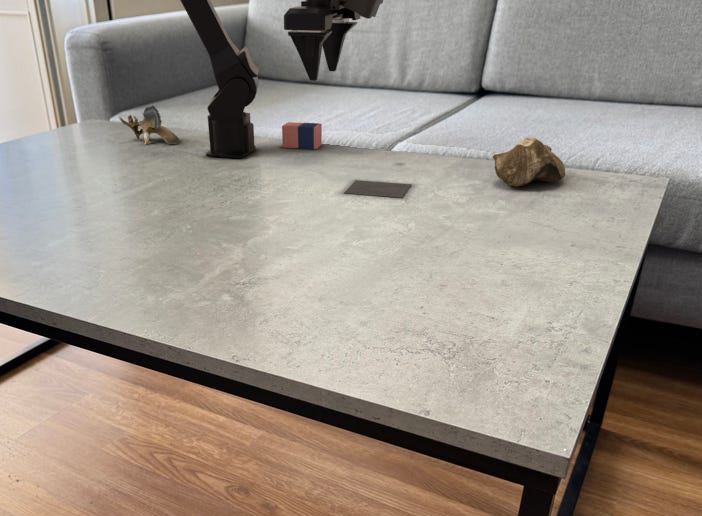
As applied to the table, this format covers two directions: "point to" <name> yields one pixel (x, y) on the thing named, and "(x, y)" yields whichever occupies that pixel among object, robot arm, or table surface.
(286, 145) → the eraser
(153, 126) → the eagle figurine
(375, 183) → the dark brown rectangular plate
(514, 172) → the fossilized seashell
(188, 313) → the table surface
